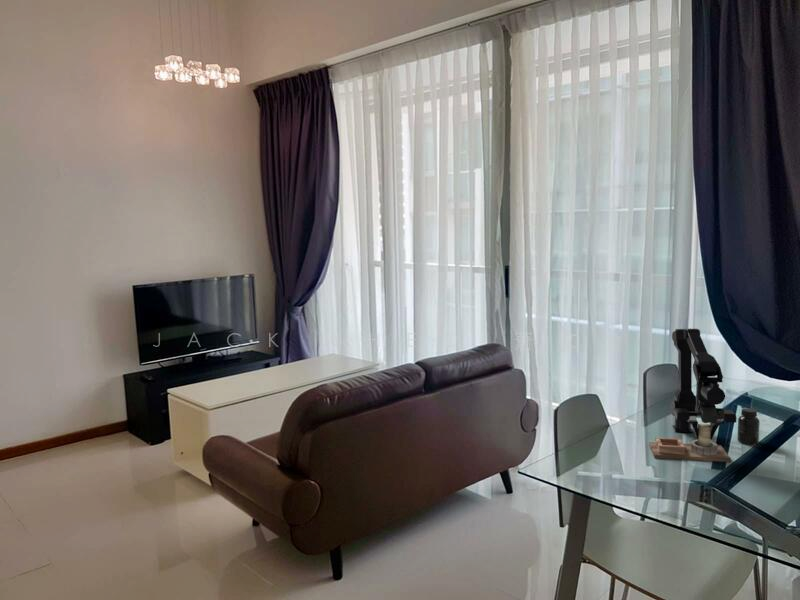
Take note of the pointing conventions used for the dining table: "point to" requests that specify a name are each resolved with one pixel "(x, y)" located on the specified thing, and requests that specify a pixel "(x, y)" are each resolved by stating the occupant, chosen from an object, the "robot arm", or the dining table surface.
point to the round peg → (704, 435)
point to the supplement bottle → (748, 427)
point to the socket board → (687, 450)
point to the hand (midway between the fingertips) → (703, 438)
